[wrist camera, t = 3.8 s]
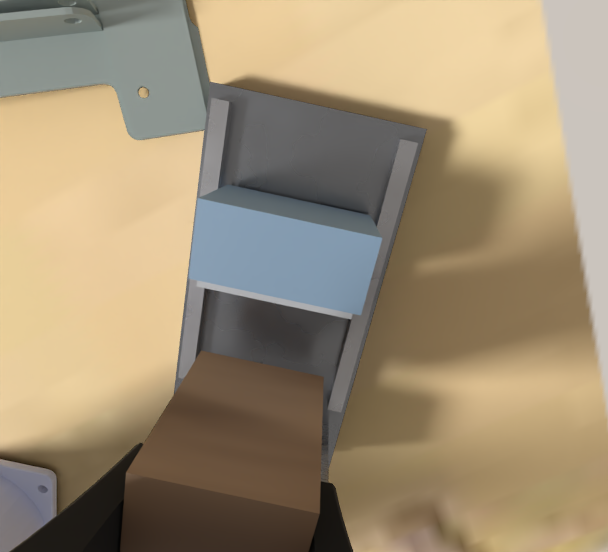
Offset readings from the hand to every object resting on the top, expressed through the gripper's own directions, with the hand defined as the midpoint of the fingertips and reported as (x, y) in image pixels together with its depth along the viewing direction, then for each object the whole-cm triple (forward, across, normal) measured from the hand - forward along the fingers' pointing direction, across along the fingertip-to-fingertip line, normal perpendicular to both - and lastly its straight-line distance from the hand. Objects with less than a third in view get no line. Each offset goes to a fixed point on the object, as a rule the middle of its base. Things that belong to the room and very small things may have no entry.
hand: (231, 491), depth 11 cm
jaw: (+6, 0, -6) cm, 8 cm away
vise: (+8, 0, -3) cm, 8 cm away
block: (+3, 0, 0) cm, 3 cm away
